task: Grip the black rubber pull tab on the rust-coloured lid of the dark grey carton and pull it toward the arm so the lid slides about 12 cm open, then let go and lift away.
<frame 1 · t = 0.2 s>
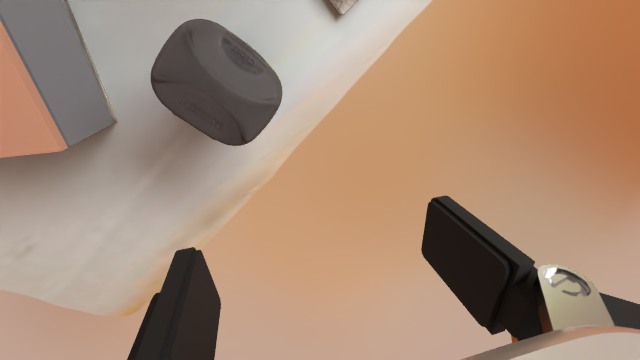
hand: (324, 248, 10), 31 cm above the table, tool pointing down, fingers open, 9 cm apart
coffee jar: (234, 72, 35), on the table
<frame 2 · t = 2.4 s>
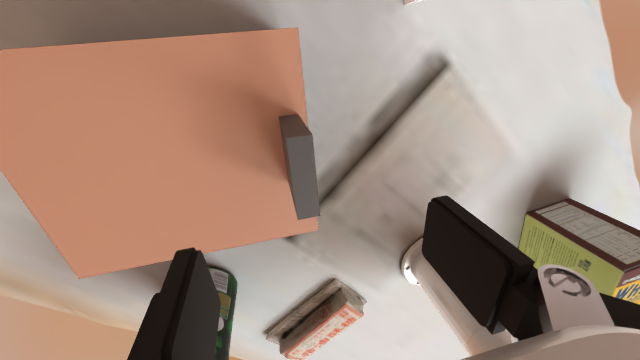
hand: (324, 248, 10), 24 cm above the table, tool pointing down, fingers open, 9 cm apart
packaged product: (315, 313, 50), on the table
coffee jar: (208, 286, 41), on the table
protein box: (539, 233, 54), on the table
lid: (165, 181, 18), point 14 cm above the table, slide at 0.0 cm
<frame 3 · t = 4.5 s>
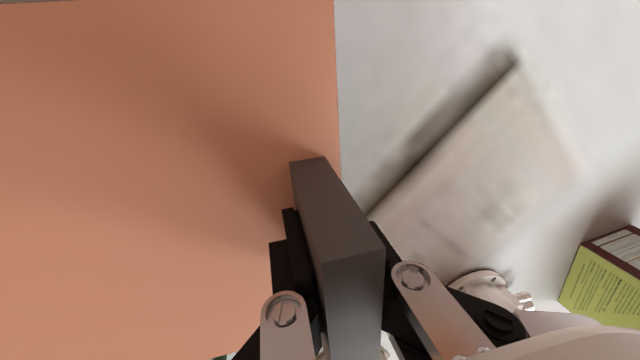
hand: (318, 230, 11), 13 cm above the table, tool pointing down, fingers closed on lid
protein box: (590, 264, 46), on the table
lid: (58, 310, 9), point 14 cm above the table, slide at 0.0 cm, touching gripper
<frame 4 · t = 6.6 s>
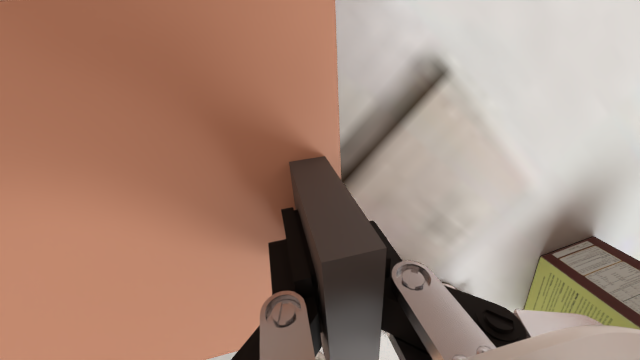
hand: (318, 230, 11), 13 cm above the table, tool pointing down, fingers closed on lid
protein box: (554, 275, 45), on the table
lid: (56, 308, 9), point 14 cm above the table, slide at 7.5 cm, touching gripper
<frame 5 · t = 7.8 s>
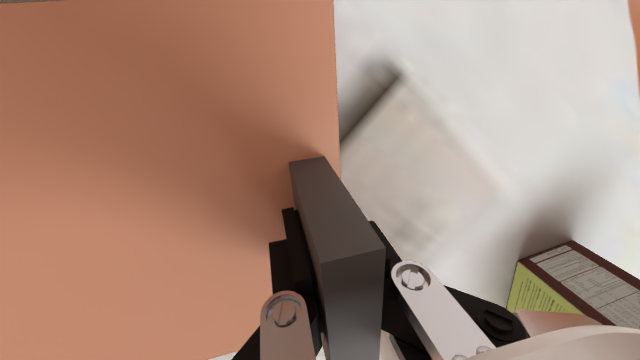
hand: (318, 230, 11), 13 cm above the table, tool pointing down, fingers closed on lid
protein box: (534, 280, 44), on the table
lid: (57, 310, 9), point 14 cm above the table, slide at 12.0 cm, touching gripper
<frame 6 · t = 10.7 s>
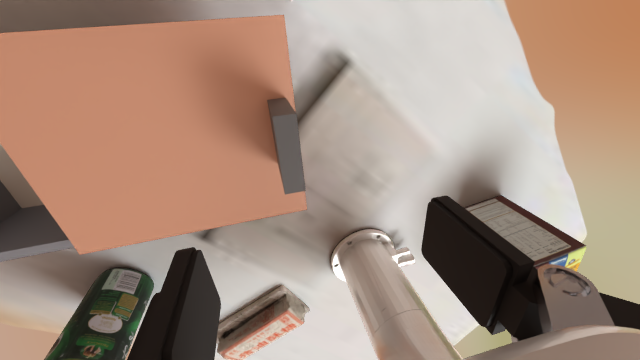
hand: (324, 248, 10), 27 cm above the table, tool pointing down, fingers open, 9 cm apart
packaged product: (259, 316, 52), on the table
carton: (85, 129, 30), on the table
coffee jar: (124, 286, 41), on the table
protein box: (474, 229, 55), on the table
lid: (161, 159, 20), point 14 cm above the table, slide at 12.0 cm
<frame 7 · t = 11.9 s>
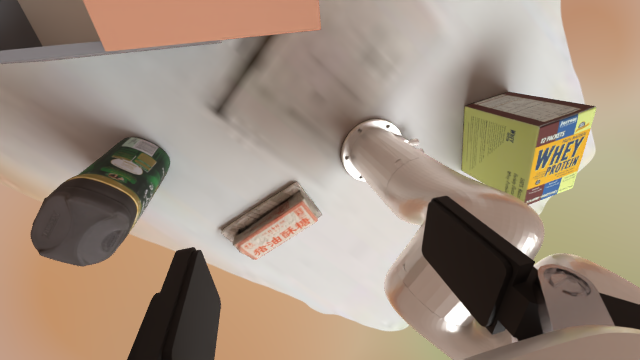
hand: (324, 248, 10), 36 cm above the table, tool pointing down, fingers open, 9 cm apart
packaged product: (273, 219, 53), on the table
coffee jar: (141, 164, 42), on the table
protein box: (483, 133, 55), on the table
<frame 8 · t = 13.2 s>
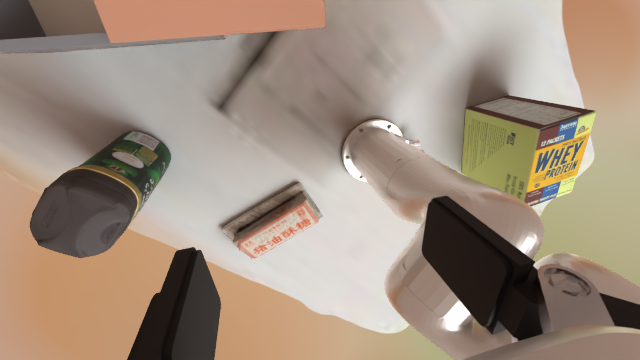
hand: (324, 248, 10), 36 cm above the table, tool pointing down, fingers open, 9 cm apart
packaged product: (273, 218, 53), on the table
coffee jar: (142, 158, 42), on the table
protein box: (483, 136, 56), on the table
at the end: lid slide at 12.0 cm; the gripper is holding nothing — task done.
